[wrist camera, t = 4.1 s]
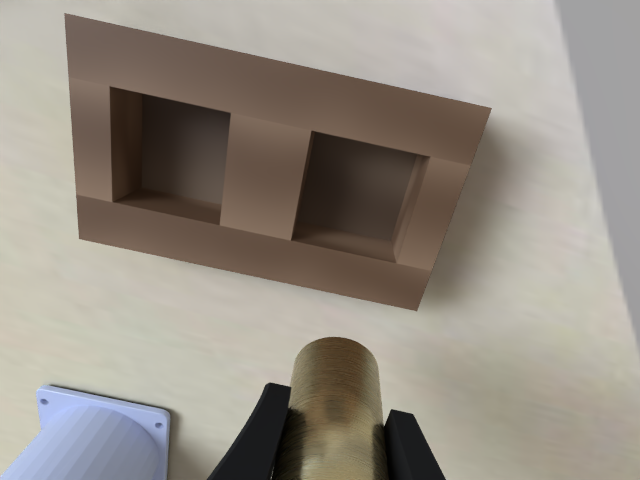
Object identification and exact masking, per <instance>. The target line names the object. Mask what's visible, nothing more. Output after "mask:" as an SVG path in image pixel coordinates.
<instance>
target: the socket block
mask: <svg viewBox="0 0 640 480" xmlns="http://www.w3.org/2000/svg"><path fill="white" fill-rule="evenodd" d="M65 29H66V44H67V60H68V75H69V90H70V106H71V121H72V137H73V152H74V167H75V183H76V198H77V213H78V229H79V239H82V240H86V241H91V242H96V243H101V244H105V245H110V246H115V247H119V248H124V249H129V250H133V251H138V252H143V253H147V254H152V255H157V256H161V257H166V258H171V259H175V260H180V261H185V262H189V263H194V264H199V265H203V266H208V267H213V268H218V269H222V270H227V271H232V272H236V273H241V274H246V275H250V276H255V277H260V278H264V279H269V280H274V281H278V282H283V283H288V284H292V285H297V286H302V287H306V288H311V289H316V290H321V291H325V292H330V293H335V294H339V295H344V296H349V297H353V298H358V299H363V300H367V301H372V302H377V303H381V304H386V305H391V306H395V307H400V308H405V309H409V310H414V311H417V310H418V307H419V304H420V301H421V299H422V296H423V293H424V291H425V288H426V285H427V283H428V280H429V277H430V274H431V272H432V269H433V266H434V264H435V261H436V258H437V255H438V253H439V250H440V247H441V245H442V242H443V239H444V236H445V234H446V231H447V228H448V226H449V223H450V220H451V217H452V215H453V212H454V209H455V207H456V204H457V201H458V199H459V196H460V193H461V190H462V188H463V185H464V182H465V180H466V177H467V174H468V171H469V169H470V166H471V163H472V161H473V158H474V155H475V152H476V150H477V147H478V144H479V142H480V139H481V136H482V133H483V131H484V128H485V125H486V123H487V120H488V117H489V115H490V112H491V109H492V108H489V107H484V106H480V105H475V104H471V103H466V102H462V101H457V100H453V99H448V98H444V97H439V96H435V95H430V94H426V93H421V92H417V91H412V90H408V89H403V88H399V87H394V86H390V85H385V84H381V83H376V82H372V81H367V80H363V79H358V78H354V77H349V76H345V75H340V74H336V73H331V72H327V71H322V70H318V69H313V68H309V67H304V66H300V65H295V64H291V63H286V62H282V61H277V60H273V59H268V58H264V57H259V56H255V55H250V54H246V53H241V52H237V51H232V50H228V49H223V48H219V47H214V46H210V45H205V44H201V43H196V42H192V41H187V40H183V39H178V38H174V37H169V36H165V35H160V34H156V33H151V32H147V31H142V30H138V29H133V28H129V27H124V26H120V25H115V24H111V23H106V22H102V21H97V20H93V19H88V18H84V17H79V16H75V15H70V14H66V13H65Z"/></svg>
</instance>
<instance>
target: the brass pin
mask: <svg viewBox="0 0 640 480" xmlns="http://www.w3.org/2000/svg"><path fill="white" fill-rule="evenodd" d="M290 387H292V388H291V394H290V400H289V406H288V411H287V415H286V419H285V423H284V427H283V431H282V436H281V440H280V443H279V447H278V451H277V454H276V459H275V464H274V469H273V474H272V479H271V480H389V477H388V466H387V455H386V445H385V434H384V424H383V413H382V402H381V392H380V381H379V370H378V365H377V362H376V359H375V358H374V356H373V354H372V353H371V352H370V351H369V350H368V349H367V348H366V347H364V346H363V345H361V344H360V343H358V342H356V341H353V340H350V339H347V338H341V337H327V338H322V339H318V340H315V341H313V342H311V343H309V344H308V345H306V346H305V347H304V348H303V349H302V350H301V351H300V352H299V354H298V355H297V357H296V360H295V363H294V368H293V373H292V378H291V383H290Z"/></svg>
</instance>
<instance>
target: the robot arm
mask: <svg viewBox="0 0 640 480" xmlns="http://www.w3.org/2000/svg"><path fill="white" fill-rule="evenodd" d="M291 388H292V387H288V386H284V385H279V384H275V383H268V384H266V385H265V387H264V390H263V393H262V395H261V397H260V399H259V401H258V403H257V405H256V407H255V409H254V410H253V412H252V414H251V416H250V417H249V419H248V421H247V422H246V424H245V426H244V427H243V429H242V430H241V432H240V433H239V435H238V436H237V438H236V439H235V441H234V443H233V444H232V446H231V447H230V449H229V450H228V451H227V453H226V454H225V456H224V457H223V458H222V460H221V461H220V462H219V464H218V465H217V467H216V468H215V469H214V471H213V472H212V473H211V475H210V476H209V477H208V479H207V480H271V476H272V472H273V468H274V464H275V459H276V454H277V451H278V447H279V443H280V440H281V436H282V431H283V427H284V423H285V419H286V415H287V411H288V406H289V400H290V394H291ZM36 397H37V404H38V411H39V418H40V425H41V431H40V432H39V433H38V435H37V436H36V437H35V438H34V439H33V440H32V441H31V442H30V444H29V445H28V446H27V447H26V448H25V449H24V450H23V452H22V453H21V454H20V455H19V456H18V457H17V458H16V459H15V461H14V462H13V463H12V464H11V465H10V466H9V467H8V469H7V470H6V471H5V472H4V473H3V474H2V475H1V476H0V480H167V467H168V449H169V430H170V414H169V413H168V412H167V411H166V410H164V409H160V408H155V407H150V406H145V405H140V404H136V403H131V402H126V401H121V400H116V399H112V398H107V397H102V396H97V395H92V394H88V393H83V392H78V391H73V390H68V389H63V388H59V387H54V386H49V385H43V386H41V387H40V388H39V389H38V390H37V391H36ZM384 434H385V445H386V455H387V466H388V477H389V480H446V479H445V477H444V475H443V473H442V471H441V469H440V467H439V465H438V463H437V461H436V459H435V457H434V455H433V453H432V451H431V449H430V447H429V445H428V443H427V441H426V439H425V437H424V435H423V433H422V431H421V429H420V427H419V425H418V423H417V421H416V419H415V417H414V415H413V414H411V413H406V412H402V411H397V410H393V409H391V411H390V414H389V416H388V419H387V421H386V424H385V426H384Z"/></svg>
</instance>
